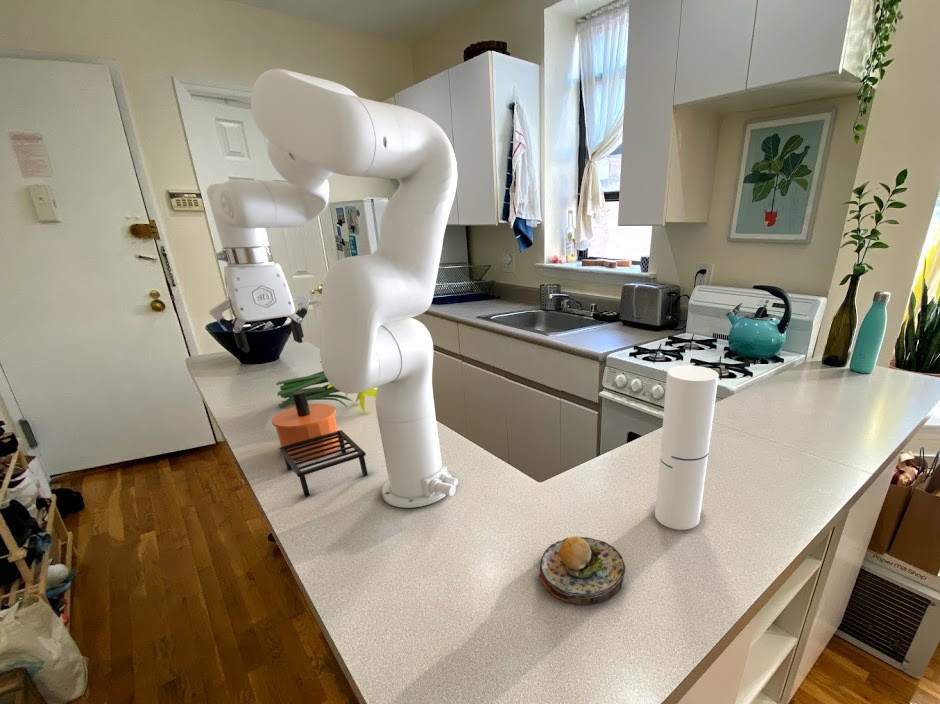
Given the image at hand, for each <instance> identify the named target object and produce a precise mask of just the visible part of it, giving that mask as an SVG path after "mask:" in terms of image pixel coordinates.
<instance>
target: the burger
mask: <svg viewBox="0 0 940 704" xmlns="http://www.w3.org/2000/svg"><path fill="white" fill-rule="evenodd" d="M538 570H539V578H540V581H541V584H542V585H543V586H544V587H545V590H546V591H547V592H548V593H549V594H550V595H552V596H553V597H555V598H557V599H558V600H561V601H564V602H567V603H571V604H577V605H594V604H596V603H597V604H598V603H601V602H604V601H608V600H609V599H611V598H612V597H613V596H615V595H616V594H617V592H619V591H620V590H621V589H622V586H623V582H624V577H625V574H626V564H625V561H624V559H623V556H622V555H621V553H620V552H619V551H618V550H617V549H616V548H615V547H614V546H612V545H611V544H609V543H608V542H606V541H603V540H600V539H595V538H591V537H588V536H587V537H585V536H584V537H582V536H570V537H566V538H564V539H563V540H557V541H556V542H554V543H552V544H551V545H549V546H548V548H547V549H546V550H545V551H544V552H543V555H542V556H541V558H540V561H539V569H538Z"/></svg>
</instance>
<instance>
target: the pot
mask: <svg viewBox="0 0 940 704" xmlns="http://www.w3.org/2000/svg"><path fill="white" fill-rule="evenodd" d="M335 415H336V414H335ZM335 415H334V416H333V417H332V418H330V419H328V420H326V421H324V422H322V423H319V424H316V425H313V426H309V427H303V428H295V429H283V428H278V427H275V429H276V433H277V436H278V437H277V438H278V440H279V444H280V447H283V446H286V445H290V444H293V443H297V442H301V441H304V440H308V439H311V438H315V437H318V436H322V435H325V434H329V433H333V432H336V431H339V429H338V425H337V420H336V416H335ZM336 436H337V435H336ZM333 437H334V436H333ZM329 438H331V437H329ZM326 439H327V438H326ZM322 440H324V439H322ZM336 440H338V438H336V439H332V440H329V441H325V442H322V443H319V444H315V445H312V446H308V447H305V448H301V449H298V450H294V451H291V452H288V454H292V453H295V452H299V451H302V450H305V449H309V448H312V447H316V446H319V445H323V444H326V443H329V442H333V441H336ZM319 441H320V440H319ZM315 442H317V441H315ZM312 443H313V442H312ZM308 444H310V443H308ZM305 445H306V444H305ZM336 445H339V442H338V443H335V444H331V445H328V446H325V447H321V448H318V449H314V450H311V451H308V452H304V453H301V454H297V455H294V456H291V458H295V457H299V456H302V455H305V454H309V453H312V452H315V451H319V450H322V449H326V448H329V447H332V446H336ZM301 446H303V445H301ZM298 447H299V446H298ZM294 448H296V447H294ZM291 449H292V448H291ZM287 450H289V449H287ZM336 450H338V448H334V449H331V450H328V451H324V452H321V453H318V454H314V455H311V456H308V457H304V458H301V459H298V460H297V461H303V460H306V459H309V458H313V457H316V456H319V455H322V454H326V453H329V452H332V451H336Z"/></svg>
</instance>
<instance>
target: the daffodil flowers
mask: <svg viewBox="0 0 940 704" xmlns="http://www.w3.org/2000/svg"><path fill="white" fill-rule="evenodd" d="M319 362H320V363H321V360H320V361H319ZM325 383H326V384H325ZM327 383H328V384H327ZM322 384H325V385H323V386H316V385H322ZM279 385H280V386H279ZM276 386H279V389H280V390H279V391H278V392H277V395H276V396H277V397H279V396H280V397H281V399H285V400H283V401H282V400H281V403H279V404H277V406H278V407H280V408H283V407H284V408H285V407H287V406H292V405H295V403H294V399H293V395H292V393H293V392H295V391H300V390H303V391H305V394H306V398H307V401H336V402H339V403H340V404H342V405H343V406H345V407H346V408H348V405H347V404H346V403H344V402H343V401H342V400H346V401H349V402H350V401H351V402H353V400H352V399H351V398H349V397H348V395H349V393H344V395H345V396H344V395H341V394H335V393H342V392H341V391H339V390H337V389H336V388H334V387H333V386H332V385H331V384H330V382H329V381H328V380H327V378H326V376H325V374H324V371H323V370H322V371H319V372H316V373H313V374H310V375H307V376H300V377H295V378H290V379H284V380H280V381H277V382H276ZM311 386H315V387H311ZM376 393H377V387H376V388H373V389H370V390H367V391H364V392H360V393H357V395H356V399H355V403H354V405H356V404H357V402H358V401H359V404H360V407H361V410H362V413H363V414H365V412H366V409H365V403H366V402H365V401H366V397H369V398H372V399H374V398H376Z"/></svg>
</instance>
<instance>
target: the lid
mask: <svg viewBox="0 0 940 704" xmlns="http://www.w3.org/2000/svg"><path fill="white" fill-rule="evenodd" d="M292 395H293V399H294V403H295V404H294V406H292V407H289V408H287V409H284V410H282V411H280V412H278V413H276V414H275V415H274V416H273V417H272V418H271V424H272V425H273V426H274V427H275V428H276V427H278V428H283V429H295V428H303V427H309V426H313V425H316V424H319V423H322V422H324V421H326V420H328V419H330V418H332V417H333V416H334V415H336V412H337V410H336V408H335V406H334V405H331V404H327V403H309V402H308V400H307V398H306V394H305V391H303V390H301V389H300V391H295V392H293V393H292Z"/></svg>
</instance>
